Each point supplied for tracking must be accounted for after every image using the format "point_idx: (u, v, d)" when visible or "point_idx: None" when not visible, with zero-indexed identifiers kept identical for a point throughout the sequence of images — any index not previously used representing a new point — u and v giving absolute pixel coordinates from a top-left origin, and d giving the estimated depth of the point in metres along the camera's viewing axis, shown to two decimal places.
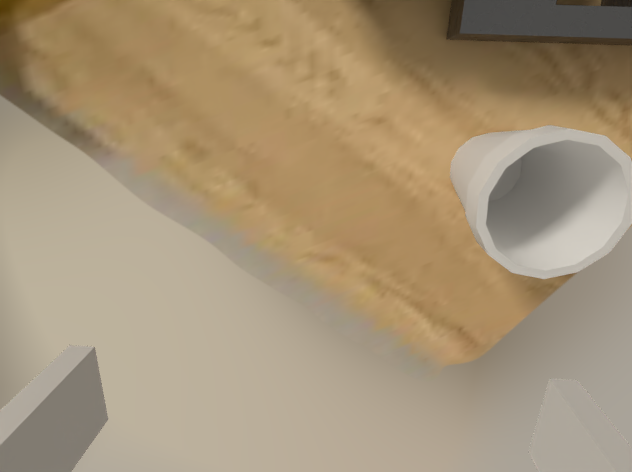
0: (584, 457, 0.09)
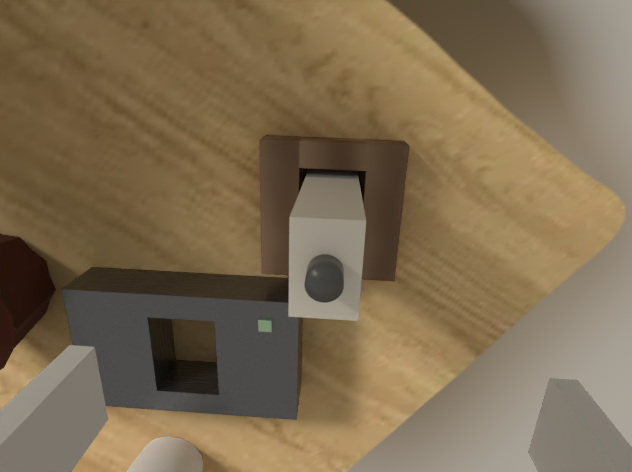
0: (584, 457, 0.09)
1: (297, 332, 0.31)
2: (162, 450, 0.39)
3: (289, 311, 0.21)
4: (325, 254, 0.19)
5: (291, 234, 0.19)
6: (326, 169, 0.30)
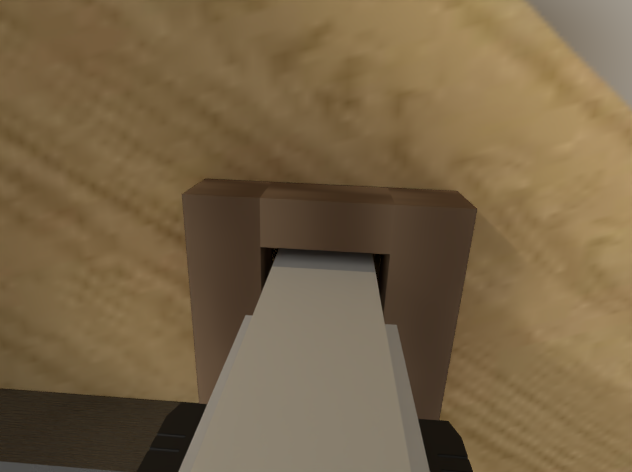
0: None
1: None
2: None
3: None
4: None
5: None
6: None
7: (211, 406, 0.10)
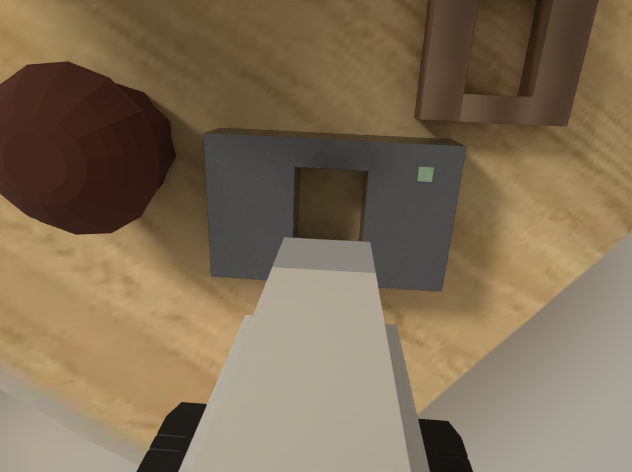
0: None
1: (458, 183, 0.28)
2: None
3: None
4: None
5: None
6: (315, 239, 0.17)
7: (211, 406, 0.10)
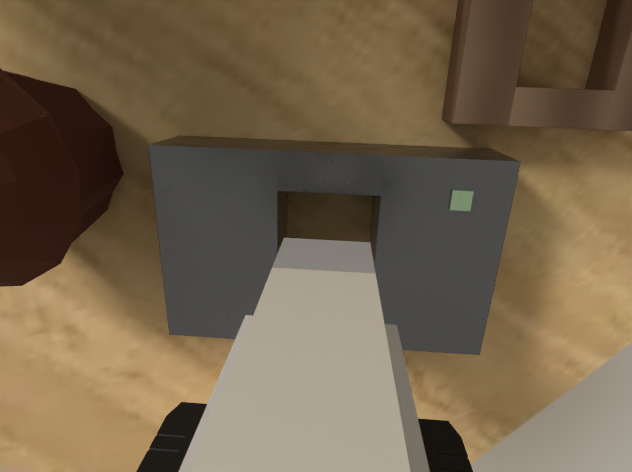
0: None
1: (507, 212, 0.20)
2: None
3: None
4: None
5: None
6: (315, 240, 0.17)
7: (211, 406, 0.10)
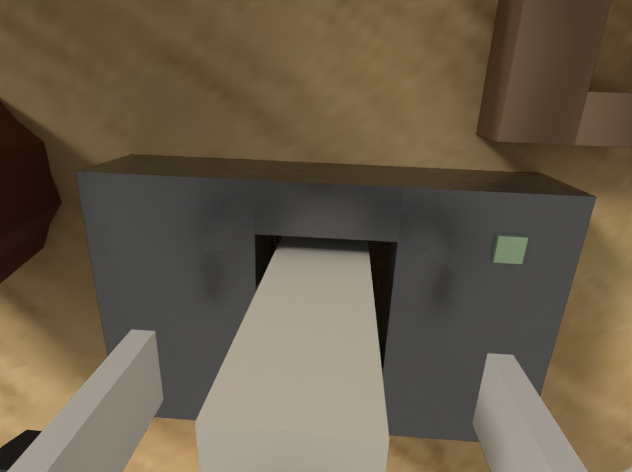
0: (509, 421, 0.10)
1: (573, 265, 0.14)
2: None
3: None
4: None
5: (203, 458, 0.08)
6: None
7: (42, 437, 0.09)
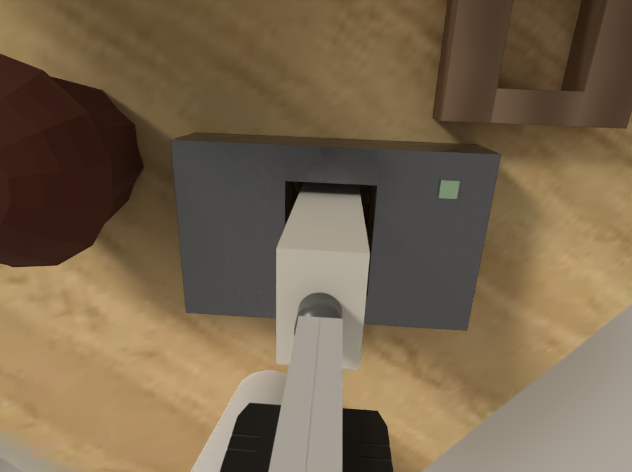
0: None
1: (490, 200, 0.22)
2: (269, 383, 0.30)
3: (277, 357, 0.17)
4: (319, 292, 0.16)
5: (279, 268, 0.16)
6: None
7: (286, 406, 0.10)
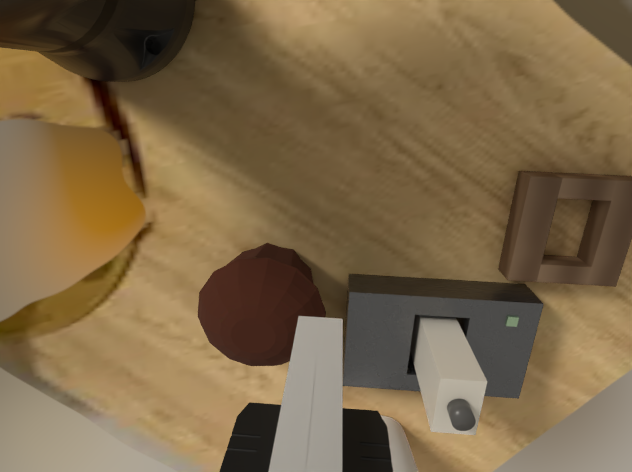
0: None
1: (536, 327, 0.38)
2: None
3: (432, 428, 0.33)
4: (459, 398, 0.32)
5: (440, 387, 0.32)
6: None
7: (286, 406, 0.10)
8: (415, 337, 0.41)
